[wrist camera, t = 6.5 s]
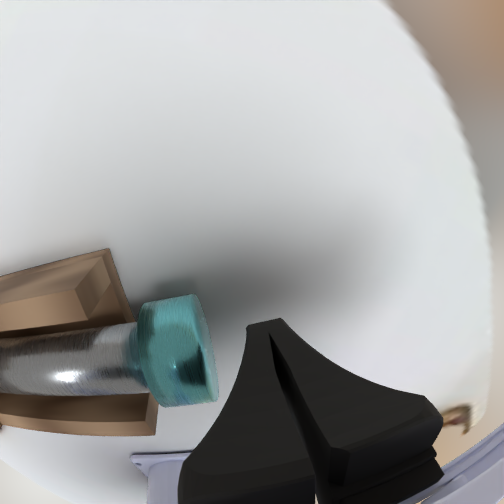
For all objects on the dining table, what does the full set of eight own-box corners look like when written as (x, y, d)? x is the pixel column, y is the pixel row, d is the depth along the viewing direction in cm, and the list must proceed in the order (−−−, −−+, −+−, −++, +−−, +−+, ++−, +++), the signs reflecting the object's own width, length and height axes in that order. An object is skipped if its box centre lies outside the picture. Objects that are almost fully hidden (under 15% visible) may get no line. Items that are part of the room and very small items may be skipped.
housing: (108, 248, 12) (62, 304, 7) (161, 379, 15) (153, 451, 10) (-41, 288, 11) (-84, 327, 6) (12, 385, 14) (-13, 432, 9)
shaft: (193, 275, 12) (188, 337, 8) (216, 353, 14) (221, 422, 10) (-23, 315, 11) (-59, 356, 7) (10, 371, 13) (-16, 416, 9)
